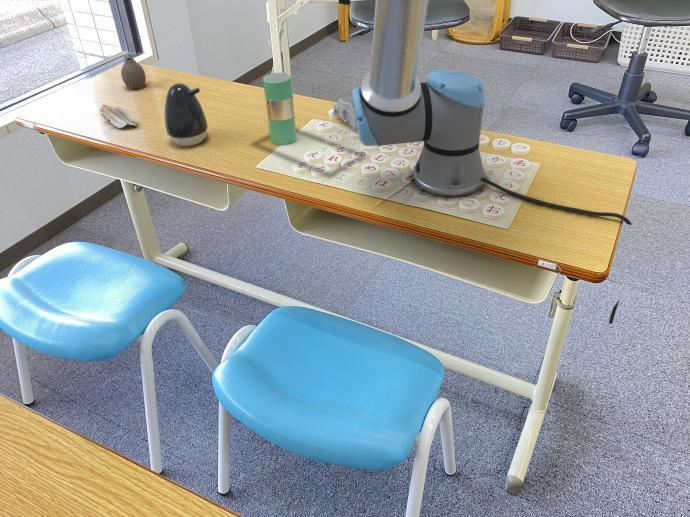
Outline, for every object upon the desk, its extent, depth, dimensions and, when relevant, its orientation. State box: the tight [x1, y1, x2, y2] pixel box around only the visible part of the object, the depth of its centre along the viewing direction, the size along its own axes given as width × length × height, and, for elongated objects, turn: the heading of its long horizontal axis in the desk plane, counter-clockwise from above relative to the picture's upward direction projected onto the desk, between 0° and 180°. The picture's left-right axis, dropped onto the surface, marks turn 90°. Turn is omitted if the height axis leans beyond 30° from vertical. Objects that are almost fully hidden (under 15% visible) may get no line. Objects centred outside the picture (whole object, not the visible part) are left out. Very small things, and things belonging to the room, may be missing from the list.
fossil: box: [98, 104, 137, 129], centre depth 163 cm, size 18×3×4 cm
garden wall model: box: [332, 98, 357, 129], centre depth 154 cm, size 12×2×6 cm, turn 28°
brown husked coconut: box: [120, 57, 147, 90], centre depth 179 cm, size 7×7×9 cm
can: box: [262, 72, 298, 146], centre depth 143 cm, size 16×7×7 cm
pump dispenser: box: [164, 82, 209, 147], centre depth 145 cm, size 10×10×15 cm
